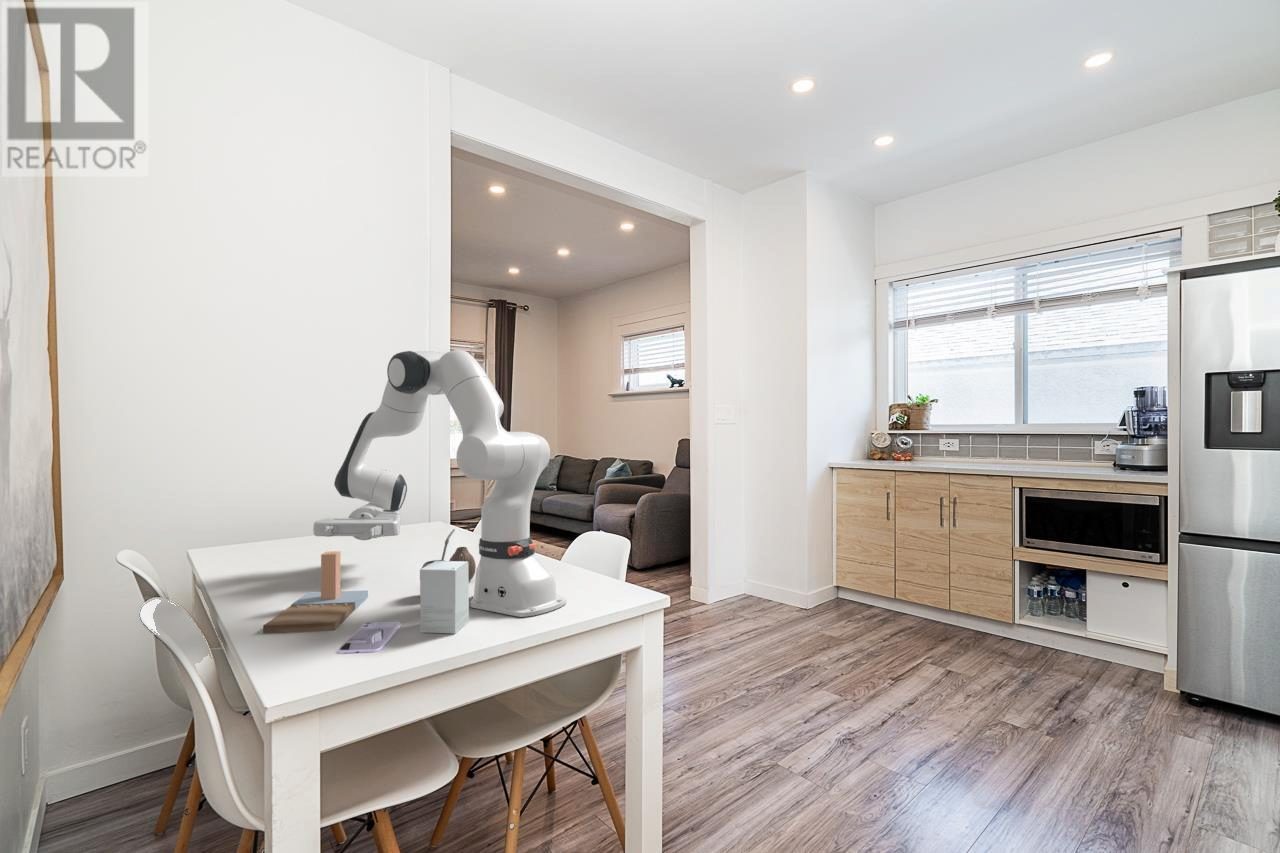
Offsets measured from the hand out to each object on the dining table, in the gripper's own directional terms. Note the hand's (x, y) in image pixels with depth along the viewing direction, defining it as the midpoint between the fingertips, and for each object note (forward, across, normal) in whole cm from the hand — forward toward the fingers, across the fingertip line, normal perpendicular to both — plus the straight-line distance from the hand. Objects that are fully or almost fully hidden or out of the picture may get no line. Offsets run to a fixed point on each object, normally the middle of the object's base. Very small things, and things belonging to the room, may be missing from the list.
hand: (348, 533), depth 143 cm
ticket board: (+23, +1, +14) cm, 27 cm away
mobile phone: (+34, +15, +14) cm, 40 cm away
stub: (+12, 0, +13) cm, 18 cm away
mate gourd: (+8, +23, +14) cm, 28 cm away
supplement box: (+30, +28, +13) cm, 44 cm away
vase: (-4, +26, +14) cm, 30 cm away
